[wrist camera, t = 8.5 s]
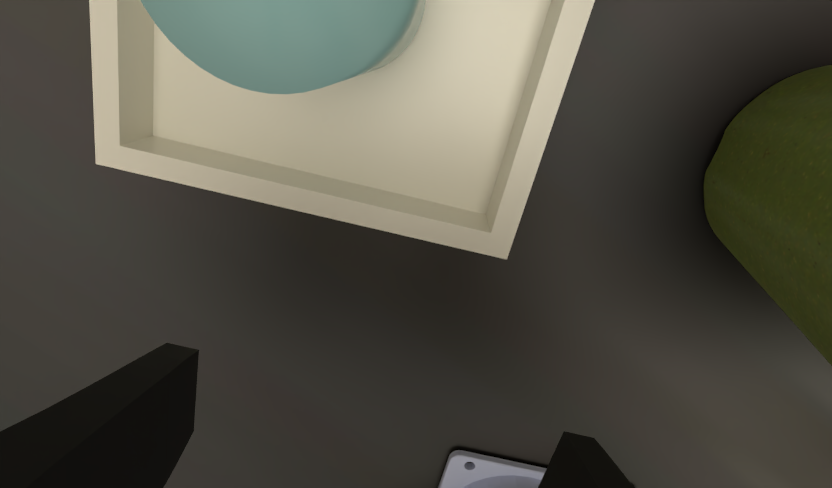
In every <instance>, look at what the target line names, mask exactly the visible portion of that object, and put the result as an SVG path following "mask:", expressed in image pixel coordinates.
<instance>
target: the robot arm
mask: <svg viewBox="0 0 832 488" xmlns="http://www.w3.org/2000/svg"><path fill="white" fill-rule="evenodd" d="M198 353H199V350H196V349H192V348H187V347H183V346H178V345H174V344H169V343H166V344H164V345H162V346H160V347H158V348H156V349H155V350H153V351H151V352H149V353H147V354H146V355H144V356H142V357H140V358H138V359H137V360H135V361H133V362H131V363H129V364H128V365H126V366H124V367H122V368H120V369H119V370H117V371H115V372H113V373H111V374H110V375H108V376H106V377H104V378H102V379H101V380H99V381H97V382H95V383H93V384H92V385H90V386H88V387H86V388H84V389H82V390H80V391H79V392H77V393H75V394H73V395H71V396H69V397H67V398H66V399H64V400H62V401H60V402H58V403H56V404H54V405H52V406H51V407H49V408H47V409H45V410H43V411H41V412H39V413H37V414H35V415H33V416H31V417H29V418H27V419H25V420H23V421H21V422H19V423H17V424H15V425H13V426H11V427H9V428H7V429H5V430H3V431H1V432H0V488H163V487H164V485H165V484H166V482H167V480H168V478H169V477H170V475H171V473H172V471H173V469H174V467H175V466H176V464H177V462H178V460H179V458H180V456H181V454H182V452H183V451H184V449H185V447H186V445H187V443H188V441H189V439H190V437H191V435H192V433H193V431H194V416H195V400H196V384H197V369H198ZM467 462H472V463H467ZM438 488H634V487H633V486H632V484H631V483H630V482H629V481H628V479H627V478H626V477H625V475H624V474H623V473H622V472H621V470H620V469H619V468H618V467H617V465H616V464H615V463H614V462H613V460H612V459H611V458H610V457H609V455H608V454H607V453H606V452H605V450H604V449H603V448H602V447H601V446H600V445H599V443H598V442H597V441H596V440H595V439H594V438H591V437H587V436H582V435H578V434H573V433H569V432H564V433H563V435H562V437H561V439H560V441H559V443H558V445H557V448H556V450H555V452H554V454H553V456H552V458H551V461H550V463H549V465H548V467H547V468H542V467H538V466H533V465H528V464H524V463H519V462H514V461H510V460H505V459H500V458H496V457H491V456H486V455H482V454H477V453H472V452H468V451H463V450H456V451H453V452H452V453H451V454H450V455H449V458H448V461H447V463H446V466H445V469H444V472H443V475H442V478H441V481H440V483H439V486H438Z"/></svg>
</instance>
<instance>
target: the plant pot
mask: <svg viewBox="0 0 832 488" xmlns="http://www.w3.org/2000/svg"><path fill="white" fill-rule="evenodd" d="M704 207H705V212H706V216H707V219H708V222H709V225H710V226H711V228H712V230H713V232H714V233H715V234H716V236H717V237H718V238H719V240H720V241H721V242H722V243H723V244H724V245H725V246H726V248H727V249H728V250H729V251H730V252H731V253H732V254H733V255H734V257H735V258H736V259H737V260H738V261H739V262H740V263H741V264H742V266H743V267H744V268H745V269H746V270H747V271H748V272H749V273H750V275H751V276H752V277H753V278H754V279H755V280H756V281H757V282H758V283H759V285H760V286H761V287H762V288H763V289H764V290H765V291H766V292H767V293H768V295H769V296H770V297H771V298H772V299H773V300H774V301H775V302H776V304H777V305H778V306H779V307H780V308H781V309H782V310H783V311H784V312H785V314H786V315H787V316H788V317H789V318H790V319H791V320H792V321H793V322H794V324H795V325H796V326H797V327H798V328H799V329H800V330H801V331H802V333H803V334H804V335H805V336H806V337H807V338H808V340H809V341H810V342H811V343H812V344H813V345H814V346H815V347H816V349H817V350H818V351H819V352H820V353H821V354H822V355H823V356H824V357H825V359H826V360H827V361H828V362H829V363H830V364H831V365H832V65H827V66H822V67H818V68H814V69H810V70H806V71H803V72H801V73H798V74H796V75H793V76H791V77H788V78H786V79H784V80H782V81H780V82H778V83H777V84H775V85H773V86H771V87H770V88H769V89H767V90H766V91H764V92H763V93H762V94H760V95H759V96H758V97H756V98H755V99H754V100H753V101H751V102H750V103H749V104H748V105H747V106H746V107H745V108H743V109H742V110H741V111H740V112H739V113H738V114H737V115H736V116H735V118H734V119H733V120H732V121H731V123H730V124H729V125H728V127H727V128H726V130H725V132H724V135H723V138H722V140H721V142H720V145H719V147H718V149H717V151H716V153H715V155H714V157H713V159H712V161H711V163H710V165H709V166H708V168H707V170H706V173H705V178H704Z"/></svg>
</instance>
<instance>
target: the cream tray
mask: <svg viewBox="0 0 832 488" xmlns="http://www.w3.org/2000/svg"><path fill="white" fill-rule="evenodd" d="M594 2H595V0H426V4H425V10H424V14H423V18H422V22H421V24H420V27H419V29H418V31H417V33H416V35H415V37H414V39H413V40H412V42H411V43H410V45H409V46H408V47H407V49H406V50H405V51H404V52H403V53H402V54H401V55H400V56H399V57H397V58H396V59H395V60H394V61H392V62H391V63H389V64H387V65H386V66H384V67H382V68H379V69H377V70H374V71H371V72H368V73H365V74H362V75H359V76H356V77H353V78H350V79H347V80H344V81H341V82H338V83H335V84H332V85H329V86H326V87H323V88H320V89H316V90H312V91H308V92H304V93H294V94H268V93H262V92H256V91H251V90H247V89H244V88H241V87H238V86H235V85H232V84H230V83H228V82H225V81H223V80H221V79H219V78H217V77H215V76H213V75H212V74H210V73H208V72H207V71H205V70H203V69H202V68H200V67H199V66H198V65H196V64H195V63H194V62H192V61H191V60H190V59H189V58H187V57H186V56H185V55H184V54H183V53H182V52H180V51H179V50H178V49H177V48H176V47H175V46H174V45H173V44H172V43H171V42H170V41H169V40H168V38H167V37H166V36H165V35H164V34H163V32H162V31H161V30H160V29H159V28H158V26H157V25H156V24H155V22H154V21H153V19H152V18H151V16H150V15H149V13H148V12H147V10H146V9H145V7H144V6H143V4H142V2H141V0H89V4H90V29H91V55H92V80H93V105H94V131H95V156H96V164H99V165H103V166H107V167H111V168H116V169H120V170H124V171H129V172H133V173H137V174H141V175H146V176H150V177H154V178H159V179H163V180H167V181H171V182H176V183H180V184H184V185H189V186H193V187H197V188H202V189H206V190H210V191H214V192H219V193H223V194H227V195H232V196H236V197H240V198H244V199H249V200H253V201H257V202H262V203H266V204H270V205H275V206H279V207H283V208H287V209H292V210H296V211H300V212H305V213H309V214H313V215H317V216H322V217H326V218H330V219H335V220H339V221H343V222H347V223H352V224H356V225H360V226H365V227H369V228H373V229H378V230H382V231H386V232H390V233H395V234H399V235H403V236H408V237H412V238H416V239H420V240H425V241H429V242H433V243H438V244H442V245H446V246H451V247H455V248H459V249H463V250H468V251H472V252H476V253H481V254H485V255H489V256H493V257H498V258H502V259H506V260H507V258H508V255H509V252H510V249H511V246H512V243H513V240H514V237H515V234H516V231H517V228H518V225H519V222H520V219H521V216H522V214H523V211H524V208H525V205H526V202H527V199H528V196H529V193H530V190H531V187H532V184H533V181H534V178H535V175H536V172H537V169H538V166H539V163H540V161H541V158H542V155H543V152H544V149H545V146H546V143H547V140H548V137H549V134H550V131H551V128H552V125H553V122H554V119H555V116H556V113H557V110H558V108H559V105H560V102H561V99H562V96H563V93H564V90H565V87H566V84H567V81H568V78H569V75H570V72H571V69H572V66H573V63H574V60H575V57H576V55H577V52H578V49H579V46H580V43H581V40H582V37H583V34H584V31H585V28H586V25H587V22H588V19H589V16H590V13H591V10H592V7H593V5H594Z"/></svg>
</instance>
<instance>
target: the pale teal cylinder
mask: <svg viewBox="0 0 832 488" xmlns="http://www.w3.org/2000/svg"><path fill="white" fill-rule="evenodd" d="M141 2H142V4H143V6H144V7H145V9H146V10H147V12H148V13H149V15H150V16H151V18H152V19H153V21H154V22H155V24H156V25H157V26H158V28H159V29H160V30H161V31H162V32H163V34H164V35H165V36H166V37H167V38H168V40H169V41H170V42H171V43H172V44H173V45H174V46H175V47H176V48H177V49H178V50H179V51H180V52H182V53H183V54H184V55H185V56H186V57H187V58H189V59H190V60H191V61H192V62H194V63H195V64H196V65H198V66H199V67H200V68H202V69H203V70H205V71H207V72H208V73H210V74H212V75H213V76H215V77H217V78H219V79H221V80H223V81H225V82H228V83H230V84H232V85H235V86H238V87H241V88H244V89H247V90H251V91H256V92H262V93H268V94H294V93H304V92H308V91H312V90H316V89H320V88H323V87H326V86H329V85H332V84H335V83H338V82H341V81H344V80H347V79H350V78H353V77H356V76H359V75H362V74H365V73H368V72H371V71H374V70H377V69H379V68H382V67H384V66H386V65H387V64H389V63H391V62H392V61H394V60H395V59H396V58H397V57H399V56H400V55H401V54H402V53H403V52H404V51H405V50H406V49H407V47H408V46H409V45H410V43H411V42H412V40H413V39H414V37H415V35H416V33H417V31H418V29H419V27H420V24H421V22H422V18H423V14H424V10H425V4H426V0H141Z"/></svg>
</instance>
